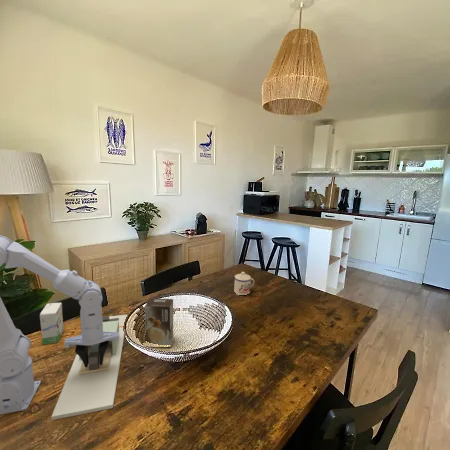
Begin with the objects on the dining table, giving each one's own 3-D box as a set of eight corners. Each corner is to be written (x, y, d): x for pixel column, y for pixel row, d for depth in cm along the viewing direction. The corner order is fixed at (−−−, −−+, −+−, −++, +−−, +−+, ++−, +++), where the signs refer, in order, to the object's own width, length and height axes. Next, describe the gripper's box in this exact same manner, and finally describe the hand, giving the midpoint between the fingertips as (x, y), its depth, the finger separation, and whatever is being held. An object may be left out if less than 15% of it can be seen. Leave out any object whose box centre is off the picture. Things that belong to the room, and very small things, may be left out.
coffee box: (174, 337, 97) (174, 298, 95) (170, 348, 91) (170, 307, 88) (150, 336, 97) (149, 297, 95) (144, 347, 91) (144, 306, 88)
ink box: (58, 342, 92) (55, 312, 90) (41, 345, 90) (39, 314, 88) (64, 329, 100) (62, 301, 98) (49, 331, 98) (46, 303, 96)
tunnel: (116, 357, 85) (115, 336, 84) (79, 363, 82) (77, 341, 81) (119, 339, 95) (118, 320, 93) (86, 343, 92) (85, 324, 90)
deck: (112, 407, 67) (112, 404, 67) (51, 420, 63) (51, 416, 63) (127, 316, 110) (127, 314, 110) (91, 320, 106) (91, 318, 106)
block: (107, 349, 87) (106, 338, 86) (91, 351, 85) (90, 340, 84) (109, 340, 91) (109, 330, 91) (94, 342, 90) (93, 331, 89)
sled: (108, 369, 78) (107, 354, 78) (78, 374, 76) (77, 359, 75) (117, 326, 101) (116, 315, 100) (94, 329, 98) (94, 317, 97)
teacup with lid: (238, 297, 133) (240, 276, 131) (230, 290, 141) (231, 270, 139) (258, 293, 138) (259, 273, 136) (249, 287, 146) (250, 267, 144)
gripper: (119, 313, 82) (121, 351, 84) (68, 319, 77) (71, 358, 80) (117, 326, 75) (118, 366, 77) (60, 332, 71) (64, 375, 73)
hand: (94, 363), depth 78 cm, fingers open, 3 cm apart
